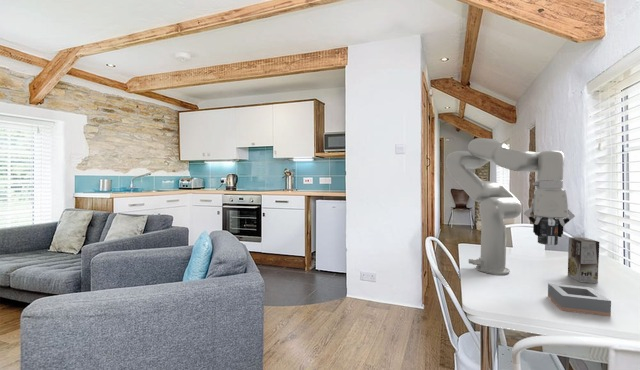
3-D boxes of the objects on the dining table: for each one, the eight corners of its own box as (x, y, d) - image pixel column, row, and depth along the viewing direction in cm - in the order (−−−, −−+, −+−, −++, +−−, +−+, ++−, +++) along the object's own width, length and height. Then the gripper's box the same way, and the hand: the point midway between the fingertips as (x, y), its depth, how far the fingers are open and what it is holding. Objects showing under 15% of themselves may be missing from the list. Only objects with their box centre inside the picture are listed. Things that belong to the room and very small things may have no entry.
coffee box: (598, 283, 124) (600, 241, 123) (579, 282, 125) (581, 240, 125) (584, 276, 133) (586, 237, 132) (566, 275, 134) (568, 236, 134)
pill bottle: (558, 246, 113) (559, 213, 112) (537, 244, 116) (539, 212, 115) (556, 243, 118) (558, 212, 117) (537, 241, 121) (538, 211, 120)
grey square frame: (561, 310, 98) (562, 295, 98) (547, 296, 110) (548, 283, 109) (610, 316, 94) (611, 301, 94) (590, 301, 106) (591, 287, 106)
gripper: (525, 185, 115) (523, 235, 116) (583, 186, 110) (581, 239, 110) (519, 184, 122) (517, 232, 123) (573, 186, 117) (571, 235, 118)
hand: (547, 235), depth 117 cm, fingers closed on pill bottle, 6 cm apart
